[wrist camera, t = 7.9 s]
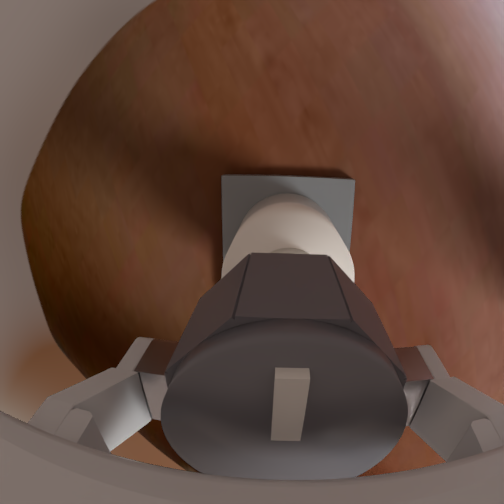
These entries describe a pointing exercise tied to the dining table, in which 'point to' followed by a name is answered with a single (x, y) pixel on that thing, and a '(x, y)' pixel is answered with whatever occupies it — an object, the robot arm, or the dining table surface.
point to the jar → (287, 217)
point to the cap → (284, 375)
